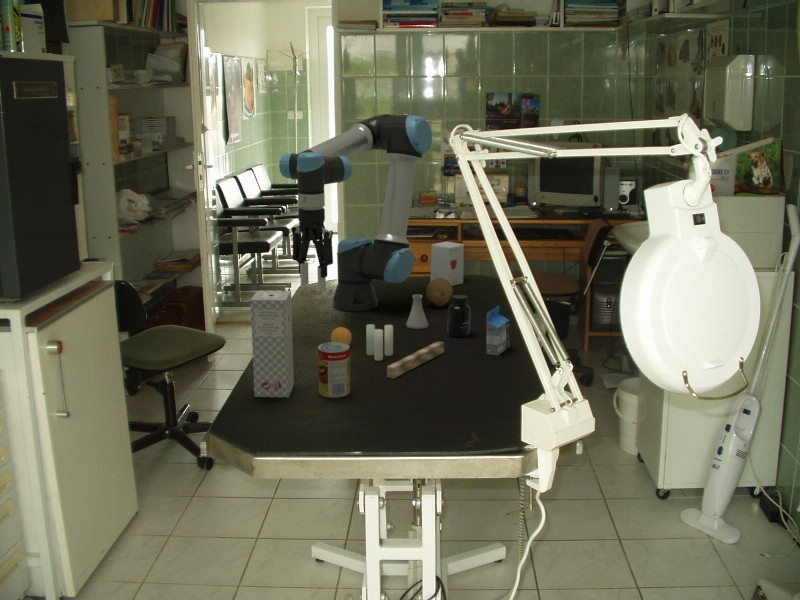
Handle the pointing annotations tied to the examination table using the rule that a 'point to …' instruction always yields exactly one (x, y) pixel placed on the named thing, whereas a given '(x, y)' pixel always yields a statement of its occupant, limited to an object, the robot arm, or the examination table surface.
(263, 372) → the box
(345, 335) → the ball
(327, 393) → the canned food
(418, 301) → the flask
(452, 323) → the supplement bottle
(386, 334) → the pin
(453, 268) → the supplement box
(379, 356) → the pin
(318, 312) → the examination table surface
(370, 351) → the front pin
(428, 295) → the natural sponge
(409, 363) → the wooden bar
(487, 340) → the label tape box
